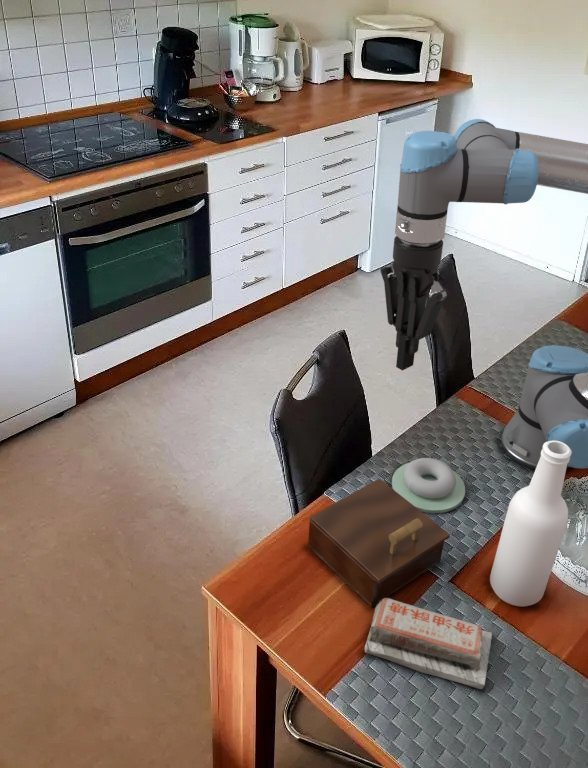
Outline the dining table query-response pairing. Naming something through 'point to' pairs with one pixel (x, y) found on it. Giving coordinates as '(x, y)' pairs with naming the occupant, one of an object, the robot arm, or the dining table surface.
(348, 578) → the wooden box
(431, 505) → the saucer
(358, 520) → the lid
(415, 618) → the packaged product
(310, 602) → the dining table surface
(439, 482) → the donut
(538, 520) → the alcohol
